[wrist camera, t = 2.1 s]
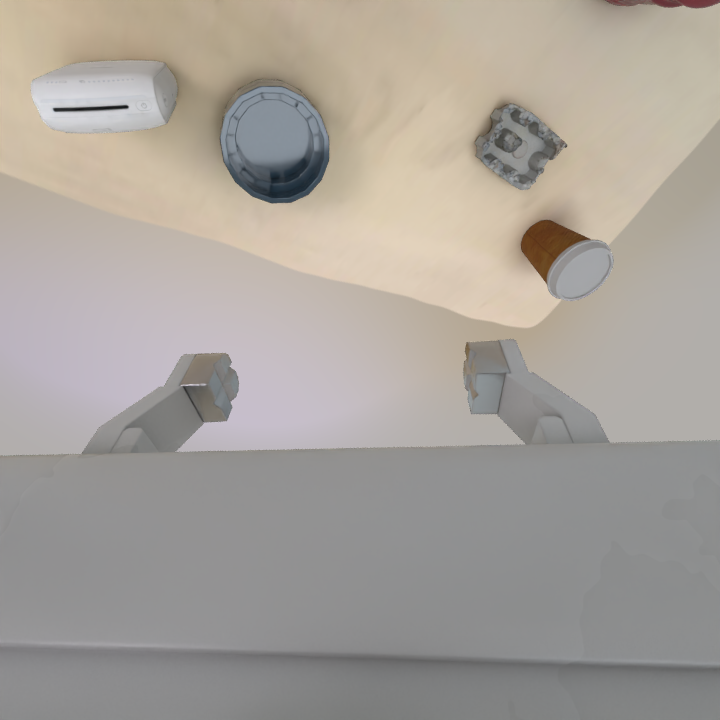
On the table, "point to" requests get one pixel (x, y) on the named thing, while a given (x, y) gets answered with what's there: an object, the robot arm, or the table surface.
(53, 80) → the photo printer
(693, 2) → the kitchen canister
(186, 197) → the table surface
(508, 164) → the grey packaging insert
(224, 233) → the table surface
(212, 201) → the table surface
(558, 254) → the disposable coffee cup
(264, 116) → the bowl
